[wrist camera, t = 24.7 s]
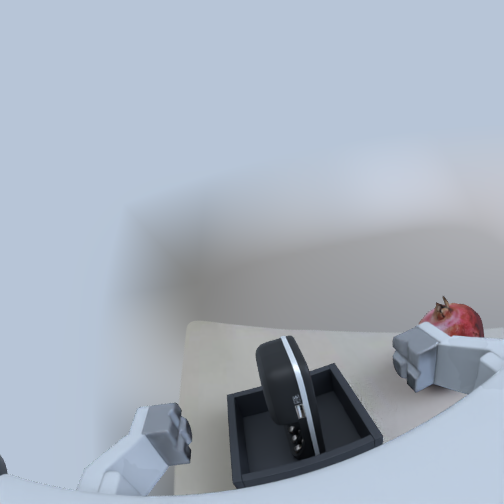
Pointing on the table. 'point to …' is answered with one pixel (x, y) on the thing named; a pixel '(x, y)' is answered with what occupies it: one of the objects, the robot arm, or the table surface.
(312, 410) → the battery charger
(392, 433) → the table surface
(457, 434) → the robot arm
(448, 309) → the fruit
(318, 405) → the tote
